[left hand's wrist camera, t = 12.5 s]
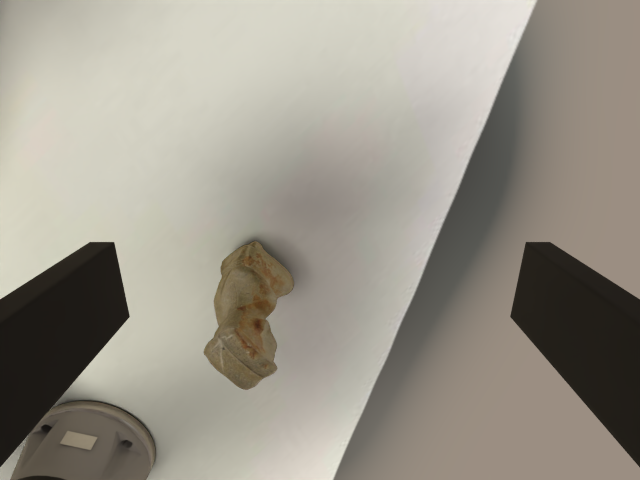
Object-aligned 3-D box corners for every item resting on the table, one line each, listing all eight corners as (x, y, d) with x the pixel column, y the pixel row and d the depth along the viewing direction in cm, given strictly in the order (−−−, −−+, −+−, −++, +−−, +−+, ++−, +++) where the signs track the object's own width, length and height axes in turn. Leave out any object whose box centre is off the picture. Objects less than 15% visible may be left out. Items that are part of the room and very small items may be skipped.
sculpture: (260, 304, 42) (231, 409, 28) (218, 255, 40) (163, 342, 26) (303, 277, 41) (294, 373, 27) (262, 225, 39) (229, 299, 25)
